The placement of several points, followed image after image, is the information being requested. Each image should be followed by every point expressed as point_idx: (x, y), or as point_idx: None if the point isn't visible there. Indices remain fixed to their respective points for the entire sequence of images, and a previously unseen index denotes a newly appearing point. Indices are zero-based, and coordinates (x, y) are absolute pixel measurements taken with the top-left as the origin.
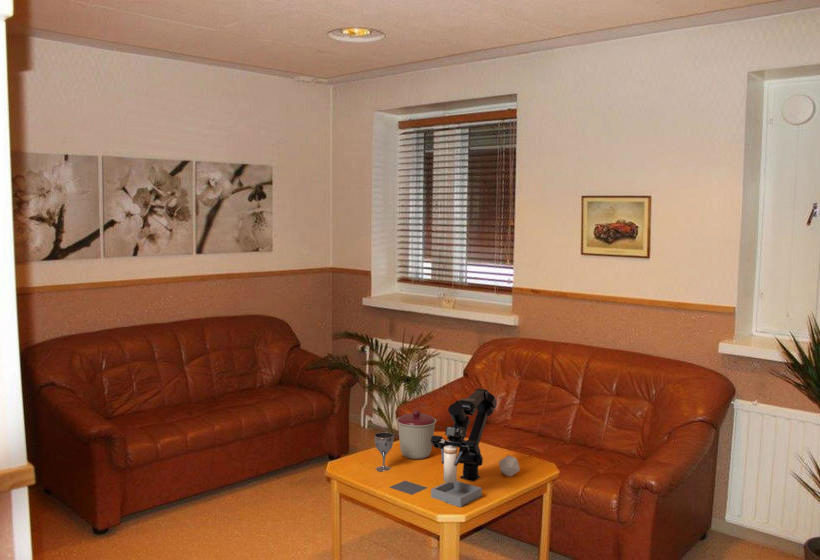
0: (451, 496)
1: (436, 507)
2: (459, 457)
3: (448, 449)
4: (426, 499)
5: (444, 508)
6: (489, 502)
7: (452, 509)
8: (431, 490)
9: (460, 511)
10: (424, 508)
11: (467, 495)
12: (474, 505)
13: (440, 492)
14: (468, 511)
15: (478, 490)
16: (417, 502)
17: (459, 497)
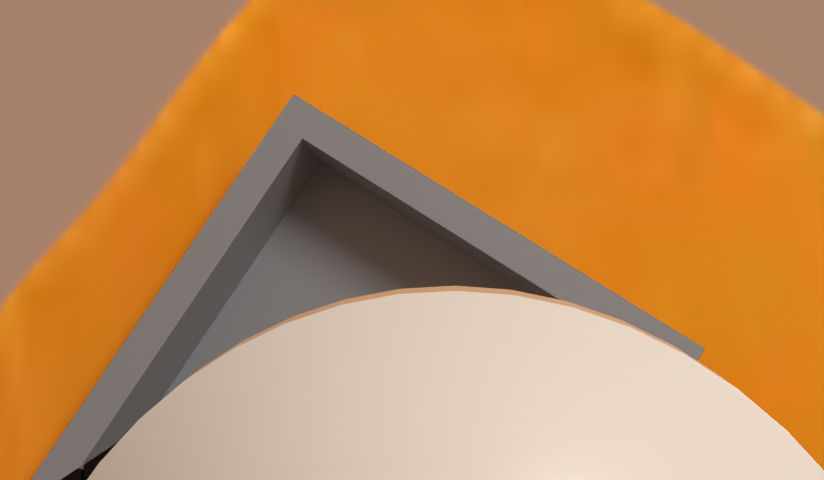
0: (412, 169)
1: (569, 89)
2: (107, 450)
3: (556, 312)
4: (712, 295)
5: (482, 78)
6: (8, 315)
7: (397, 66)
8: (692, 344)
9: (313, 30)
10: (694, 43)
11: (213, 216)
12: (170, 207)
13: (562, 261)
14: (233, 44)
15: (73, 424)
16: (800, 191)
17: (309, 117)
